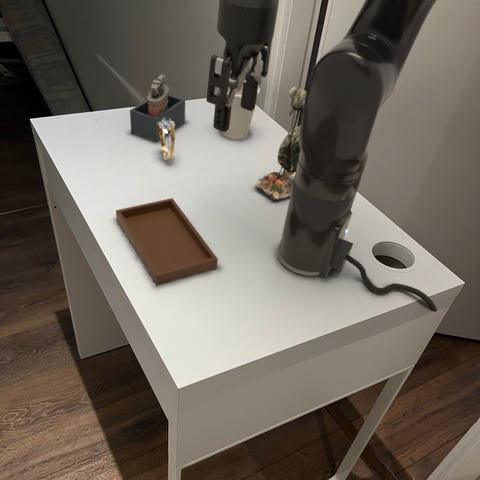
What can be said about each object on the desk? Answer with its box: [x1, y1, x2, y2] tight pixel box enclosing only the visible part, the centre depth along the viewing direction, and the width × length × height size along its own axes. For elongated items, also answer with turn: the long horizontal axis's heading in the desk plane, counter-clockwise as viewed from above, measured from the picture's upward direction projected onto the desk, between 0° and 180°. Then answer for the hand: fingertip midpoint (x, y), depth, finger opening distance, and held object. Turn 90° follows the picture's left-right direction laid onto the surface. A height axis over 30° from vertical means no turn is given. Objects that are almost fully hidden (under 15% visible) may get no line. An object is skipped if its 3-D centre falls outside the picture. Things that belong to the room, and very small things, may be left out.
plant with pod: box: [254, 87, 307, 201], centre depth 89 cm, size 8×11×20 cm
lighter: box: [146, 74, 170, 117], centre depth 103 cm, size 8×3×10 cm, turn 168°
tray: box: [115, 197, 218, 286], centre depth 81 cm, size 17×10×2 cm, turn 29°
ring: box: [158, 117, 176, 161], centre depth 96 cm, size 7×3×8 cm, turn 16°
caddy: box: [129, 93, 186, 144], centre depth 105 cm, size 6×11×5 cm, turn 153°
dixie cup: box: [221, 79, 261, 141], centre depth 105 cm, size 8×8×10 cm
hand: (234, 118), depth 75 cm, fingers open, 8 cm apart
